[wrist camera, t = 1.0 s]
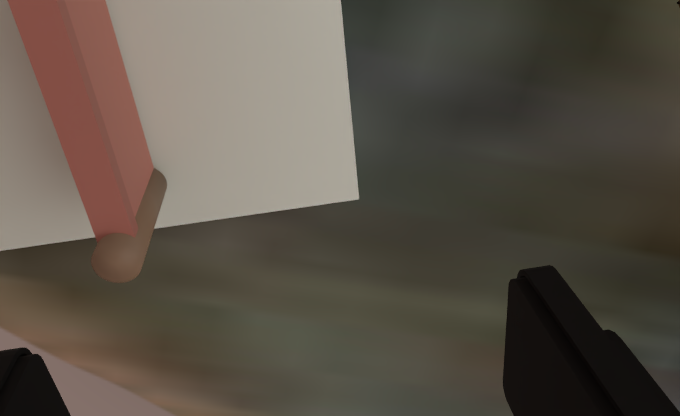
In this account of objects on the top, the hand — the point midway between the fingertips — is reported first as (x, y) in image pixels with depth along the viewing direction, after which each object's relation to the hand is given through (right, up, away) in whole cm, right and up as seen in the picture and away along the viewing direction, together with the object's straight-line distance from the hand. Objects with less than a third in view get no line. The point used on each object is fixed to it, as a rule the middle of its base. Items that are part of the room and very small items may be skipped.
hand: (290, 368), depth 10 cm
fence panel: (-9, +8, +14) cm, 18 cm away
